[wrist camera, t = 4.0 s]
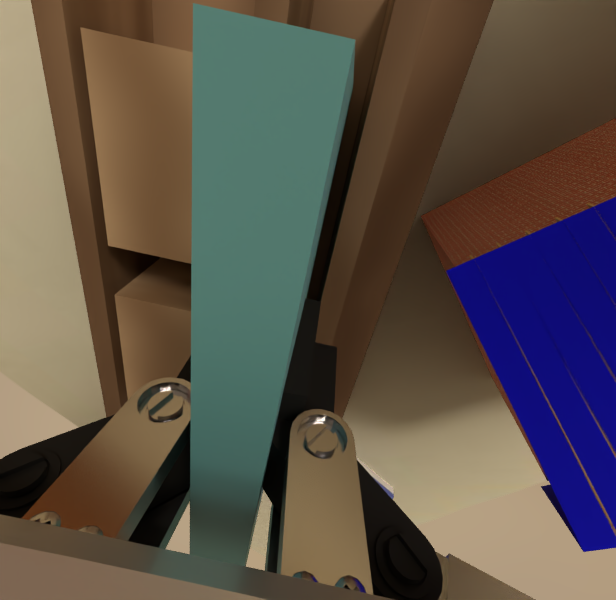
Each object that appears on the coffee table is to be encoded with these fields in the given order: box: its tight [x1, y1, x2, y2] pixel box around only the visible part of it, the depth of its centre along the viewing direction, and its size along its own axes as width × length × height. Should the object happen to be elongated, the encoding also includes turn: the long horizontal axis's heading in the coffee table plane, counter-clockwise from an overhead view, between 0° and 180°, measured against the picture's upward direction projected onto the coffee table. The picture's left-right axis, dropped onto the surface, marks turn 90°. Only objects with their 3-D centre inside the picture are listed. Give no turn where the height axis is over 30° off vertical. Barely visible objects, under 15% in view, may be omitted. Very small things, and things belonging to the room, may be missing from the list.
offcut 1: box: [80, 27, 193, 264], centre depth 12 cm, size 4×6×4 cm, turn 169°
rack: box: [31, 0, 494, 418], centre depth 15 cm, size 15×21×6 cm
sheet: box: [190, 3, 355, 567], centre depth 11 cm, size 1×14×11 cm, turn 169°
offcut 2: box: [115, 257, 191, 400], centre depth 16 cm, size 4×6×4 cm, turn 169°
